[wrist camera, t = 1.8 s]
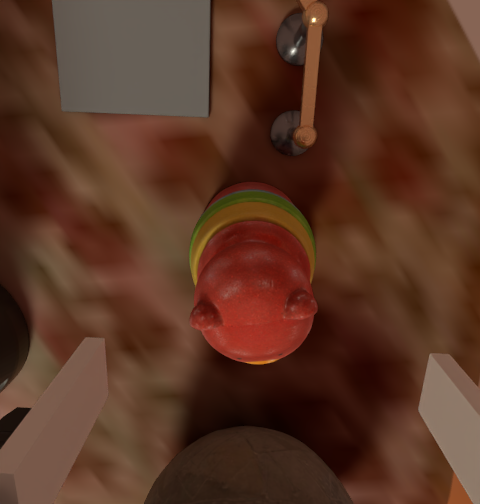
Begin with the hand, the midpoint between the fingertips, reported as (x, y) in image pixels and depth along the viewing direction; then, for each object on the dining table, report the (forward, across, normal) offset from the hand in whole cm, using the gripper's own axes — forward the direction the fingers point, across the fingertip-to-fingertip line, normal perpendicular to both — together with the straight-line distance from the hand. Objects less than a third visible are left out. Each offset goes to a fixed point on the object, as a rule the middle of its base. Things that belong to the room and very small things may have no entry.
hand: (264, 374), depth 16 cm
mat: (+21, -10, +16) cm, 29 cm away
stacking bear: (+22, 0, 0) cm, 22 cm away
